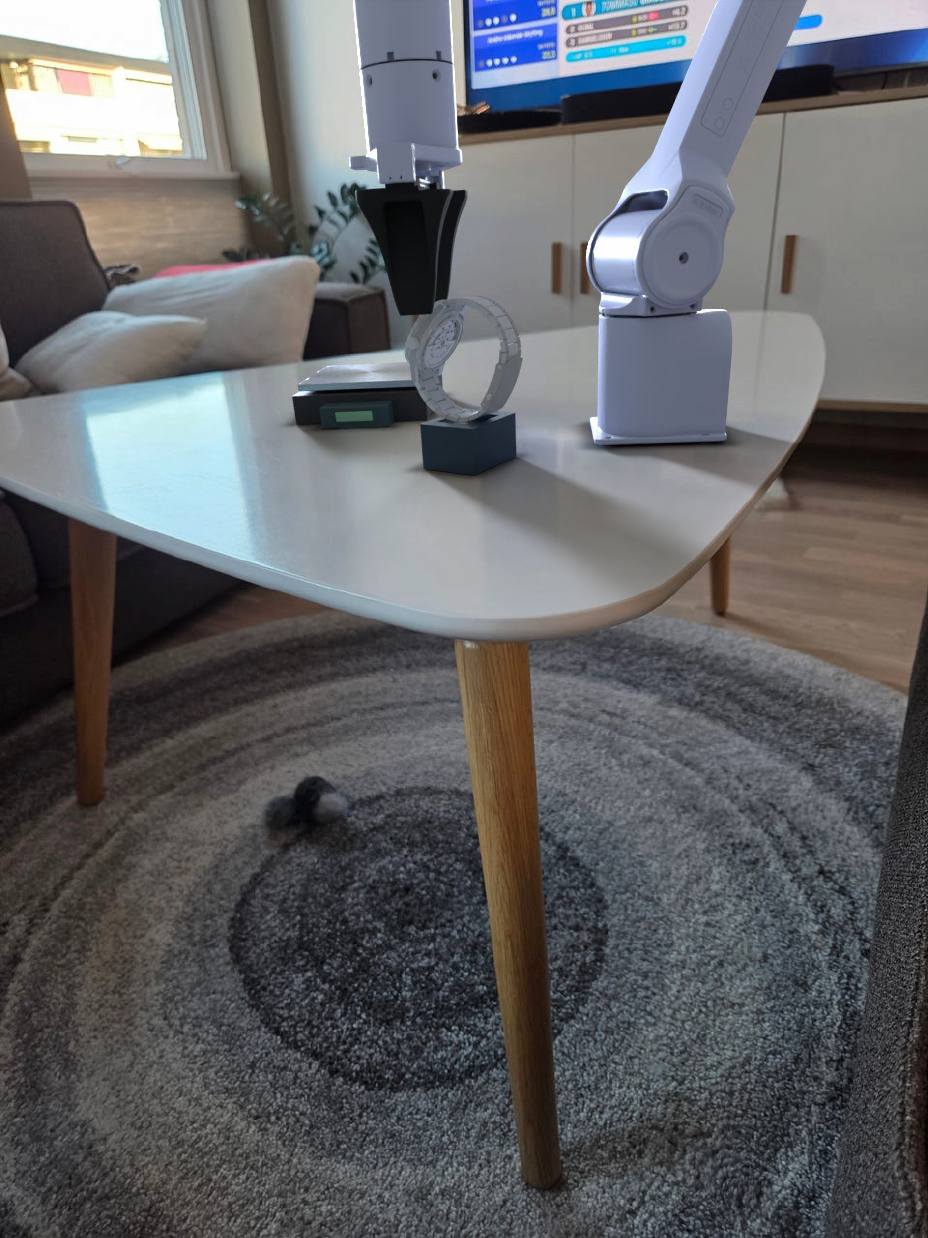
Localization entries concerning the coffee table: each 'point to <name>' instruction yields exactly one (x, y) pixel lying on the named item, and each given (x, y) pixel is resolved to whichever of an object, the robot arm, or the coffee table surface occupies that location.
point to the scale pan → (359, 377)
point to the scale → (360, 407)
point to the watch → (458, 433)
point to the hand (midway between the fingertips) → (424, 308)
